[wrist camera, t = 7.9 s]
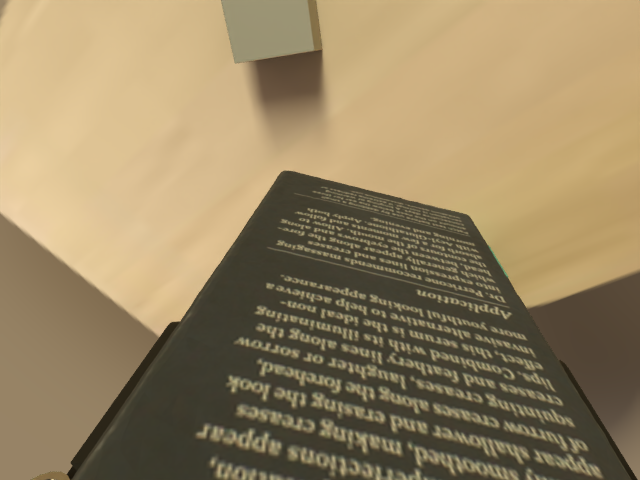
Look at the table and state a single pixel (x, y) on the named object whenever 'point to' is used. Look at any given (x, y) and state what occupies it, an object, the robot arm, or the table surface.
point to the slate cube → (271, 28)
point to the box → (354, 359)
